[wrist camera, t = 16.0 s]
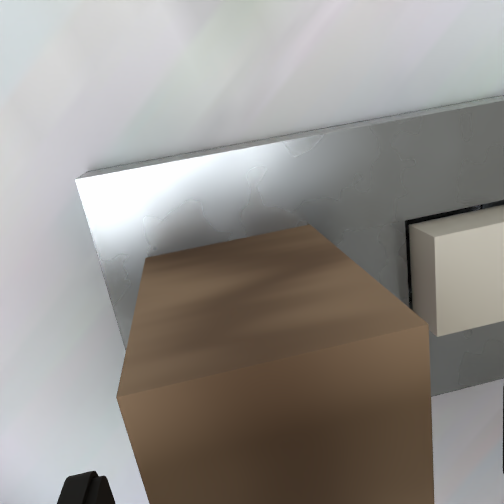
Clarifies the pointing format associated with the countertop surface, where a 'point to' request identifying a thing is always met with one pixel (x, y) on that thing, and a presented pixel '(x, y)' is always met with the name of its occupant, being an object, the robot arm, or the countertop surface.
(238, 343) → the walnut block
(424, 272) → the cream switch
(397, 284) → the switch panel
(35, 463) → the countertop surface
